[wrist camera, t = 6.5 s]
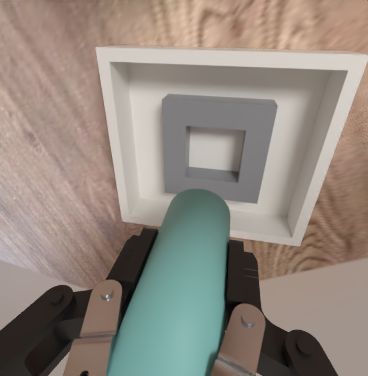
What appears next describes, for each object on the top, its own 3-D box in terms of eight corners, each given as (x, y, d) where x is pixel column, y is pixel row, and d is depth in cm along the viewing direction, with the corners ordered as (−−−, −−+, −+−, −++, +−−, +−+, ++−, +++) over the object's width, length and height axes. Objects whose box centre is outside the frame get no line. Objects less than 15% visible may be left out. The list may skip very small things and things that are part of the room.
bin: (346, 50, 20) (369, 54, 17) (292, 220, 30) (299, 246, 26) (118, 44, 24) (95, 47, 20) (135, 200, 33) (122, 221, 29)
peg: (234, 192, 15) (227, 407, 6) (226, 242, 17) (214, 451, 8) (167, 185, 15) (81, 371, 7) (168, 233, 17) (103, 421, 9)
